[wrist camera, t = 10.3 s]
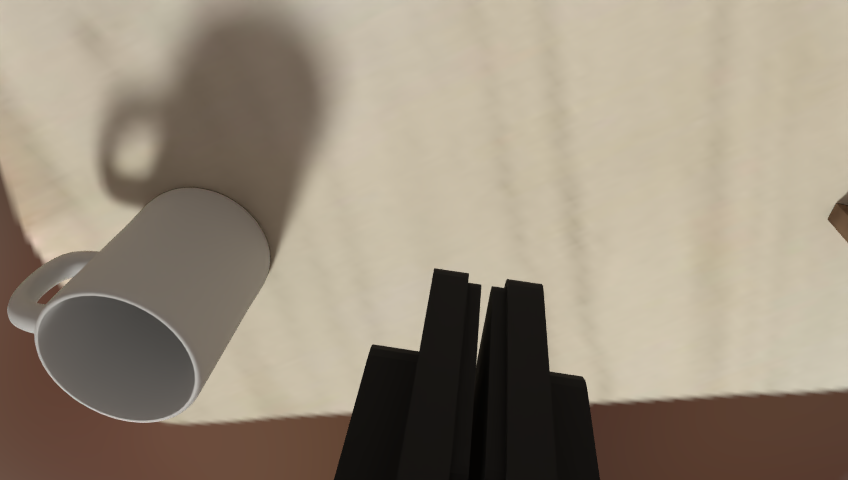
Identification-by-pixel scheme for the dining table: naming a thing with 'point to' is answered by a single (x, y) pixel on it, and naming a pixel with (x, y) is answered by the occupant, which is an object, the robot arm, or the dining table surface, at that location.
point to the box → (840, 219)
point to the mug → (147, 305)
